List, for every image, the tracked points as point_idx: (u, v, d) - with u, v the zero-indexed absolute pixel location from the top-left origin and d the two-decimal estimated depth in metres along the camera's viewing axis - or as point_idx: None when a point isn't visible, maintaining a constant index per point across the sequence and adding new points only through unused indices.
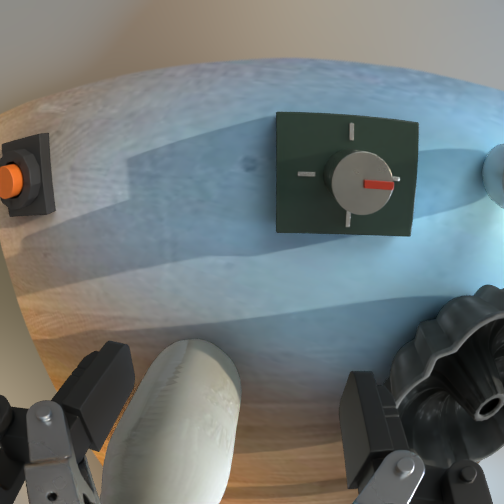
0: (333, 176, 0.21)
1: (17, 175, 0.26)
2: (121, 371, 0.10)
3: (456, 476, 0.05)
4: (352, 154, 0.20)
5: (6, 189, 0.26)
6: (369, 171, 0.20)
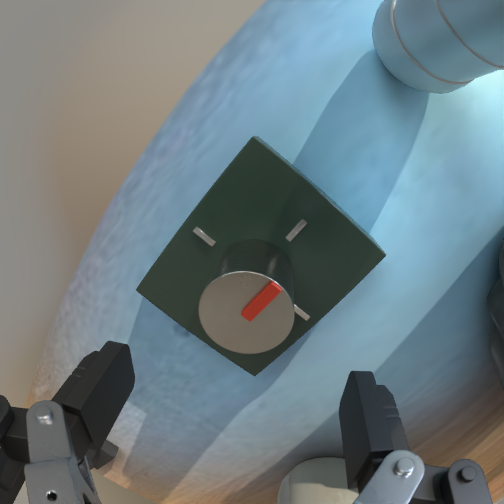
0: (212, 338, 0.15)
1: None
2: (121, 371, 0.10)
3: (456, 476, 0.05)
4: (200, 302, 0.14)
5: None
6: (236, 298, 0.14)
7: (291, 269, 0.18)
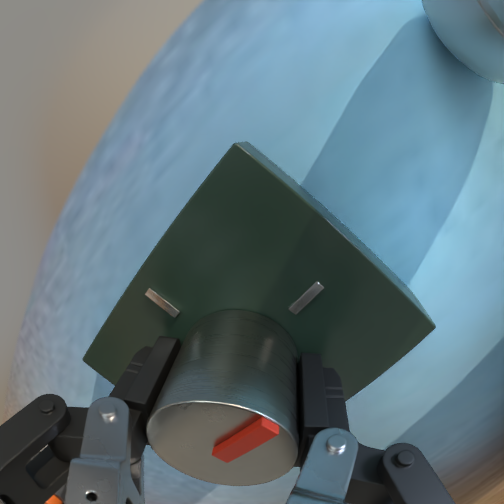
0: (173, 466, 0.08)
1: None
2: None
3: (392, 459, 0.06)
4: (147, 429, 0.08)
5: None
6: (202, 432, 0.08)
7: (296, 354, 0.11)
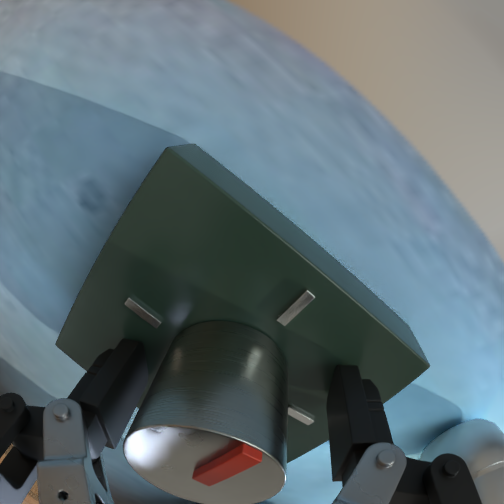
0: (155, 485, 0.08)
1: None
2: (136, 368, 0.10)
3: (439, 470, 0.06)
4: (125, 449, 0.07)
5: None
6: (182, 456, 0.07)
7: (286, 367, 0.10)
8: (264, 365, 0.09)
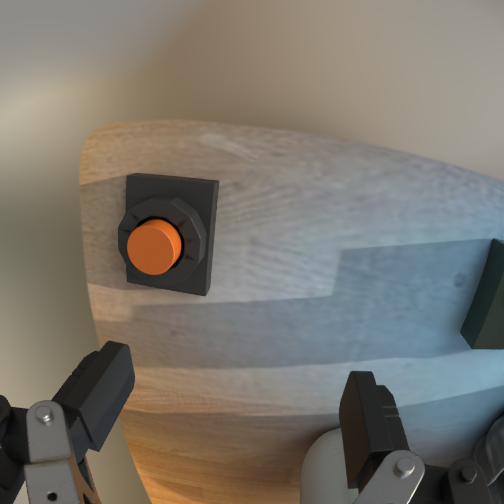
0: None
1: (177, 244, 0.22)
2: (121, 371, 0.10)
3: (456, 476, 0.05)
4: None
5: (154, 262, 0.22)
6: None
7: None
8: None
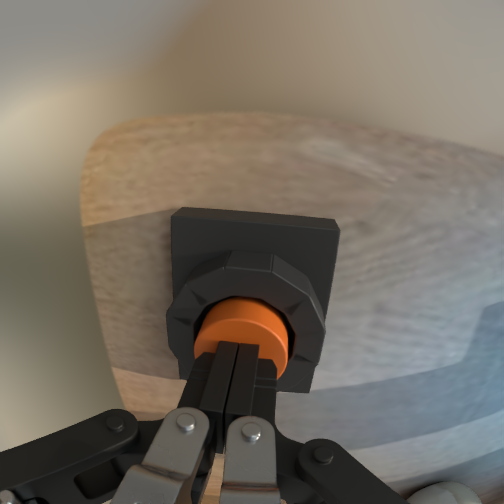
0: None
1: (287, 340, 0.12)
2: None
3: (309, 454, 0.07)
4: None
5: None
6: None
7: None
8: None
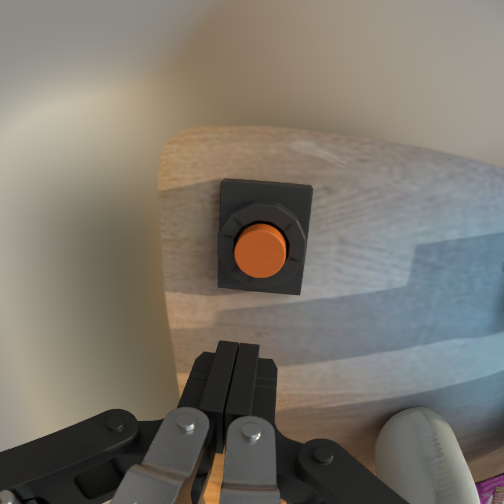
0: None
1: (285, 247, 0.23)
2: None
3: (309, 454, 0.07)
4: None
5: (264, 265, 0.23)
6: None
7: None
8: None
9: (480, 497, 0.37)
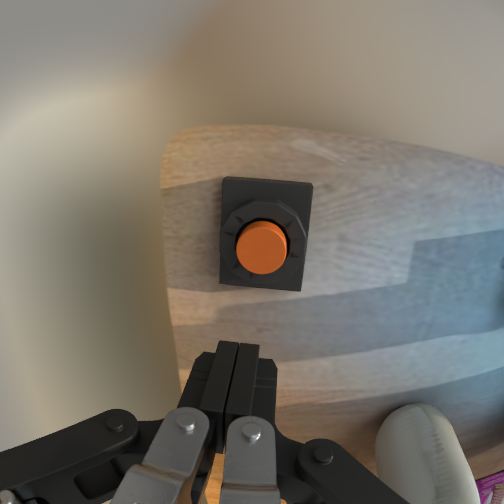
0: None
1: None
2: None
3: (309, 454, 0.07)
4: None
5: (265, 261, 0.23)
6: None
7: None
8: None
9: (480, 494, 0.37)
